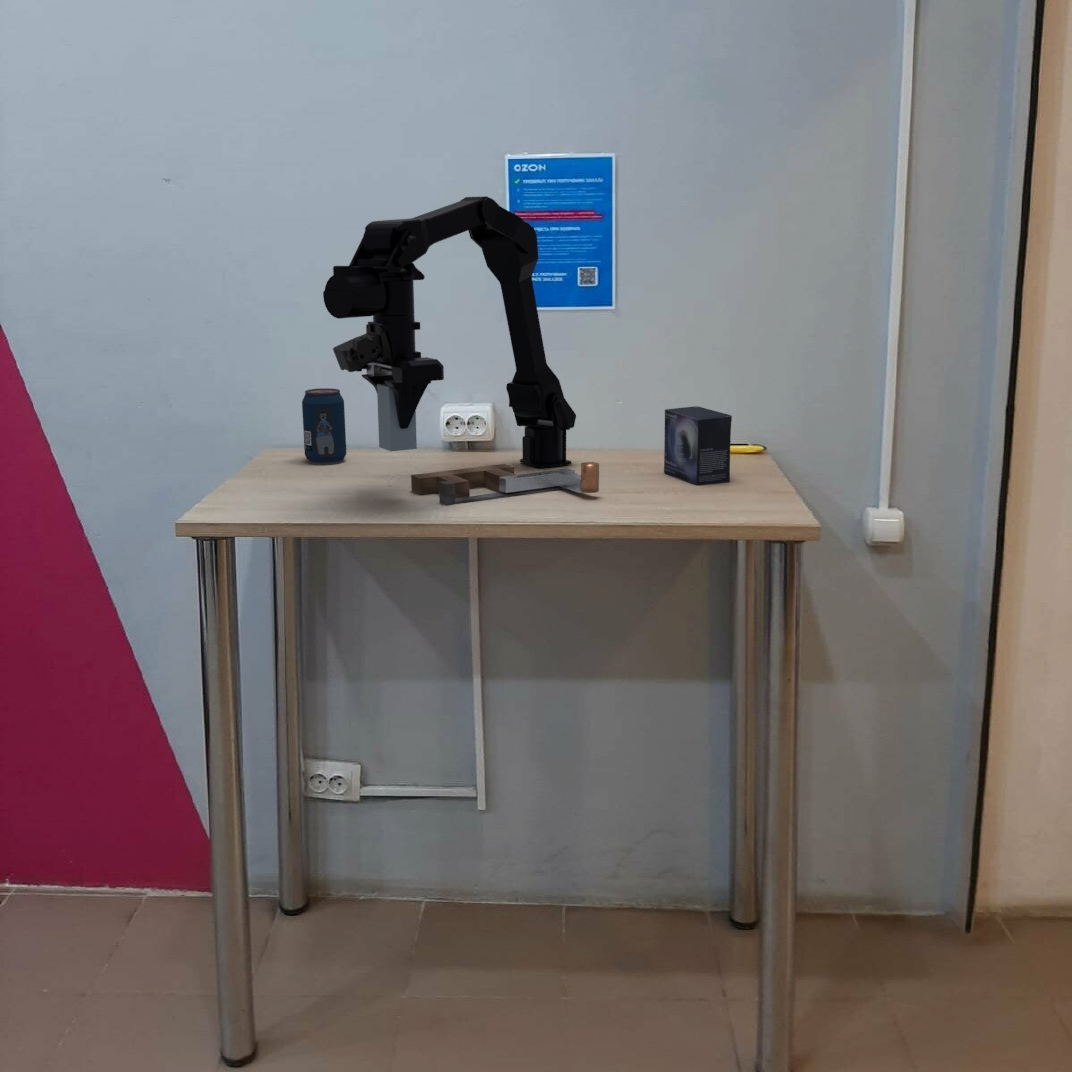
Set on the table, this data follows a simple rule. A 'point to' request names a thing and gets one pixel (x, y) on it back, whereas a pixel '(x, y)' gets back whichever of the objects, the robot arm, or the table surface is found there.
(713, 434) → the small box
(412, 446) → the slate blue cuboid
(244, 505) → the table surface
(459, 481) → the mount
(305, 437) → the soda can
